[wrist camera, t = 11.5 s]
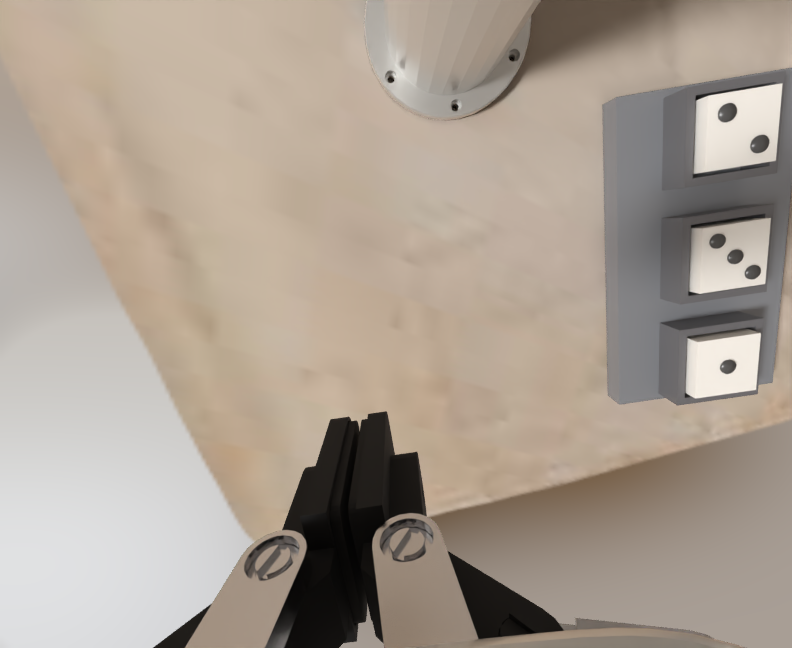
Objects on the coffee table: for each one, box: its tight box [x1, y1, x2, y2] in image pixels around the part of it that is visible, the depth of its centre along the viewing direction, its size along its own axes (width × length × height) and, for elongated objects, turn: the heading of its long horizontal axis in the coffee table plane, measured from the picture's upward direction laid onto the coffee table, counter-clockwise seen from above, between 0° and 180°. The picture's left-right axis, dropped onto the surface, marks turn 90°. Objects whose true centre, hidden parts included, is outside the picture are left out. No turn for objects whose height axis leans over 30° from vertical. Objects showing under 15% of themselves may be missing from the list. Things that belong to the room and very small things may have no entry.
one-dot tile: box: [685, 328, 761, 399], centre depth 33 cm, size 5×5×3 cm
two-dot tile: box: [693, 83, 783, 174], centre depth 29 cm, size 5×5×3 cm
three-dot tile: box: [688, 218, 771, 294], centre depth 31 cm, size 5×5×3 cm
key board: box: [603, 68, 792, 405], centre depth 33 cm, size 26×14×4 cm, turn 9°
